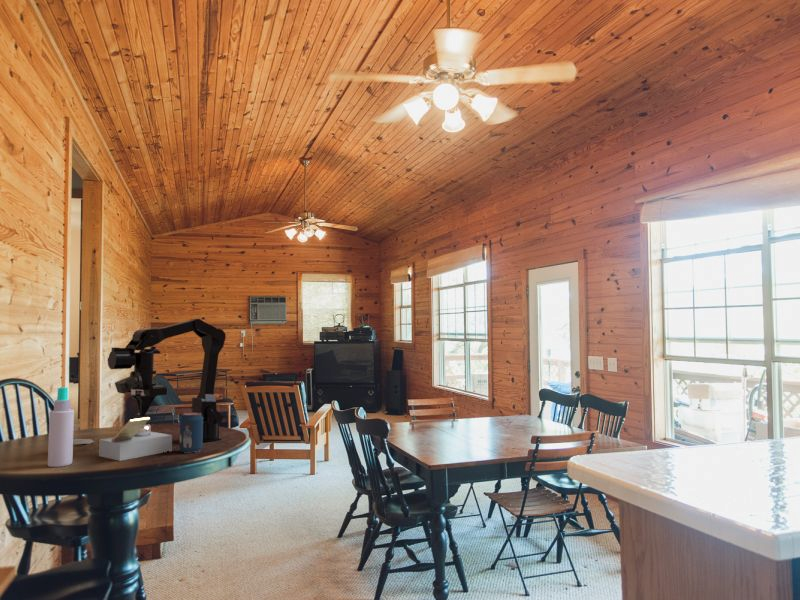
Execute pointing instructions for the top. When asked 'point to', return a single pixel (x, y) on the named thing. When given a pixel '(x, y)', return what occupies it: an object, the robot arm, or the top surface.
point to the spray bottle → (61, 431)
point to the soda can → (191, 432)
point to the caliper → (82, 441)
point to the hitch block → (135, 446)
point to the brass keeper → (131, 428)
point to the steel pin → (144, 431)
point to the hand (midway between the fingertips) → (142, 416)
